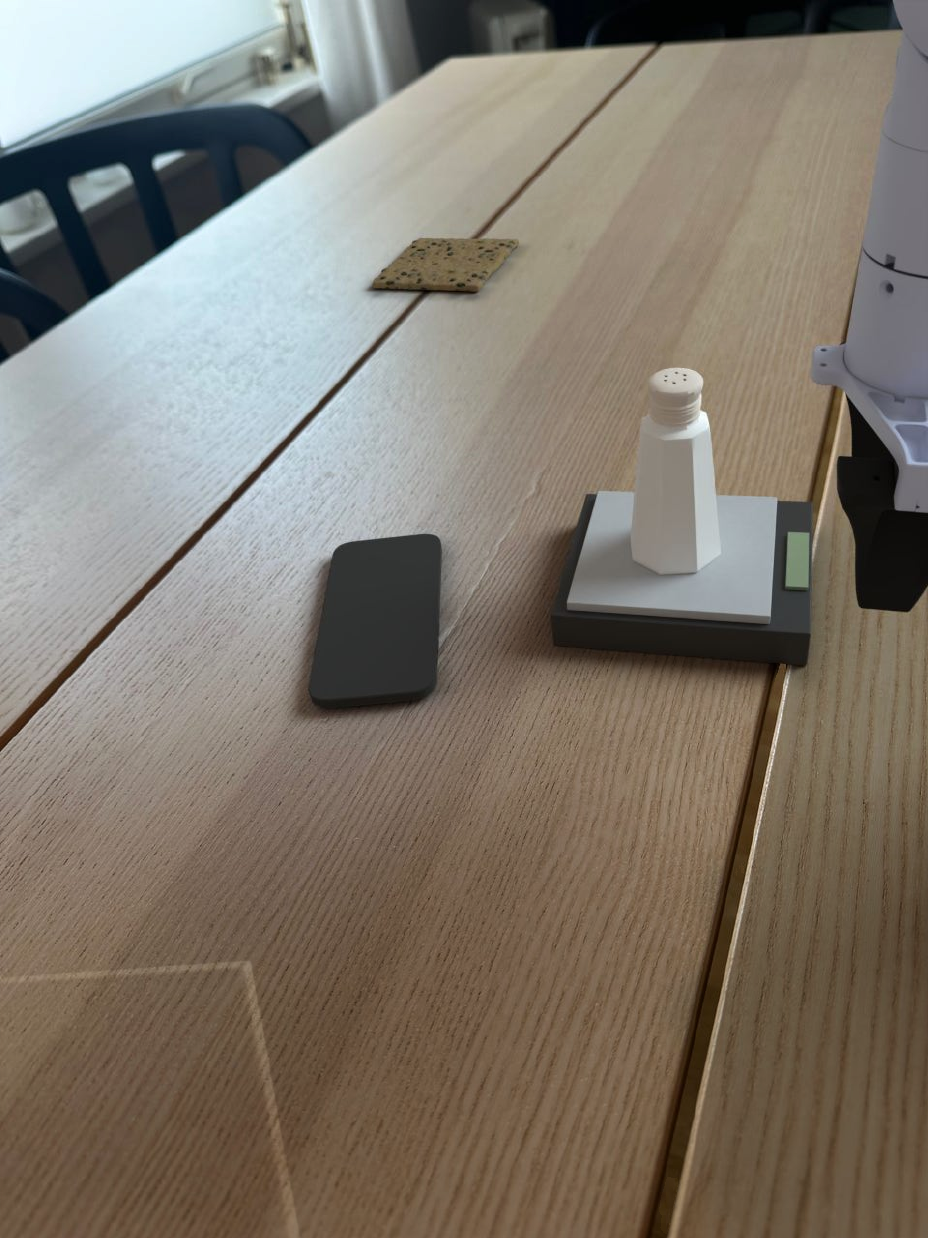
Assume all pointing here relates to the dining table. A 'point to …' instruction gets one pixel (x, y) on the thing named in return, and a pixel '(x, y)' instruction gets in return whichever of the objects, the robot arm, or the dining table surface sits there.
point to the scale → (692, 586)
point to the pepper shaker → (675, 479)
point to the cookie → (446, 264)
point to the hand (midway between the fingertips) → (880, 548)
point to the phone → (379, 623)
